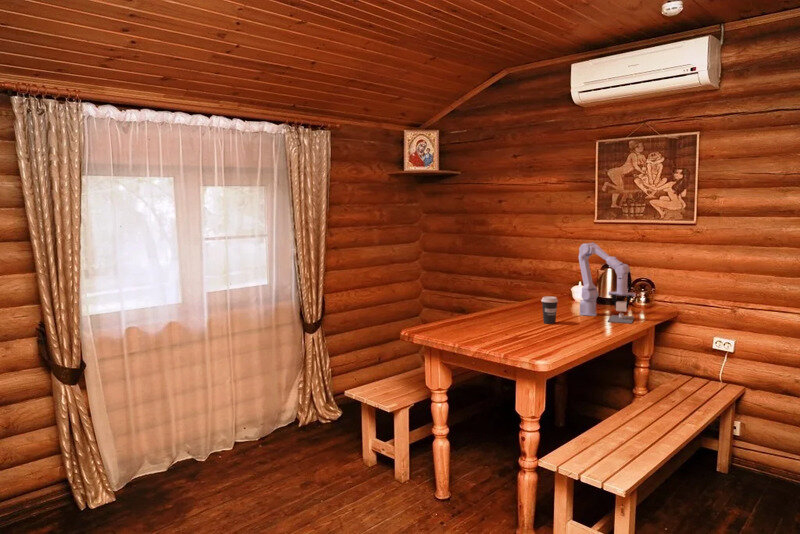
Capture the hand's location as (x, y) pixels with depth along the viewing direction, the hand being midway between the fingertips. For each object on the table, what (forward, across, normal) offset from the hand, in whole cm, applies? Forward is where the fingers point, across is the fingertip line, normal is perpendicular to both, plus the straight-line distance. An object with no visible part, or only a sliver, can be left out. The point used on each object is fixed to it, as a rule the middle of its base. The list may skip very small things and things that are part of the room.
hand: (621, 308), depth 336 cm
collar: (+1, 0, 0) cm, 1 cm away
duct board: (+7, 0, 0) cm, 7 cm away
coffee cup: (+7, -37, -23) cm, 44 cm away
